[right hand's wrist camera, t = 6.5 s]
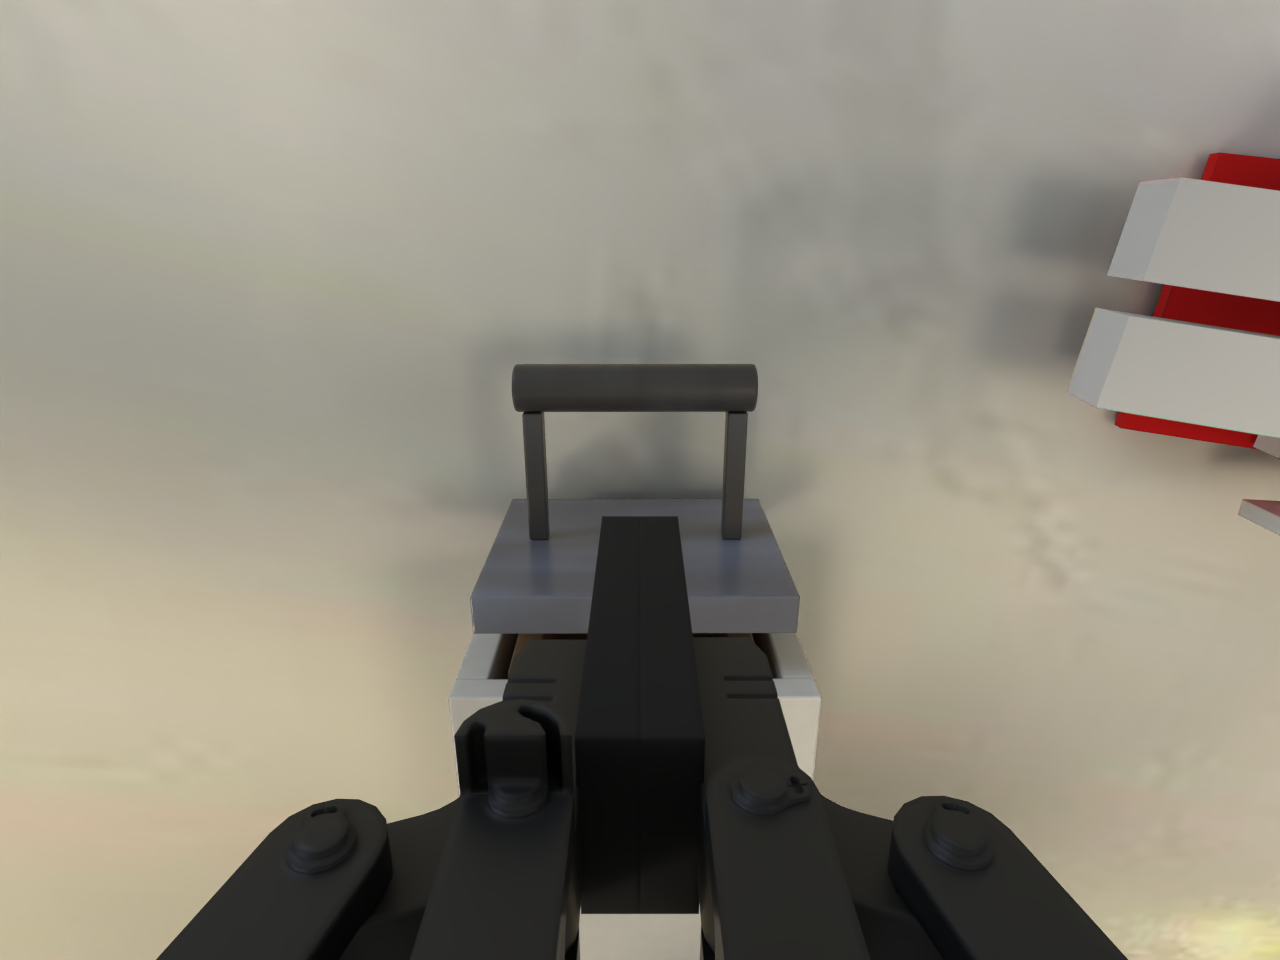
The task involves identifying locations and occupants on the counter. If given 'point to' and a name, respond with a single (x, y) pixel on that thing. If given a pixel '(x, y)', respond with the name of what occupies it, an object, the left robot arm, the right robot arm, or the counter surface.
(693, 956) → the cabinet
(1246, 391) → the toy
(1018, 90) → the counter surface
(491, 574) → the drawer
